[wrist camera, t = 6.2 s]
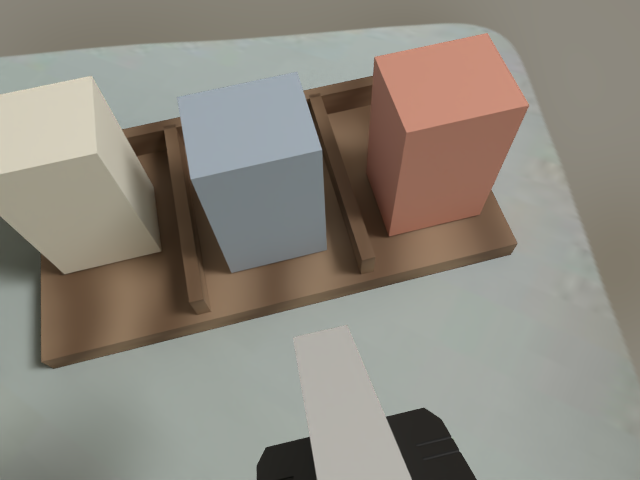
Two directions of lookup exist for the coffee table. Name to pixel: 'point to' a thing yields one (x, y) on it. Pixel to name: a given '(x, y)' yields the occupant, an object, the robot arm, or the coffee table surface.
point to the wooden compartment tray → (259, 282)
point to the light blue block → (257, 169)
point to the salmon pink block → (439, 131)
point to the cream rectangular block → (73, 178)
